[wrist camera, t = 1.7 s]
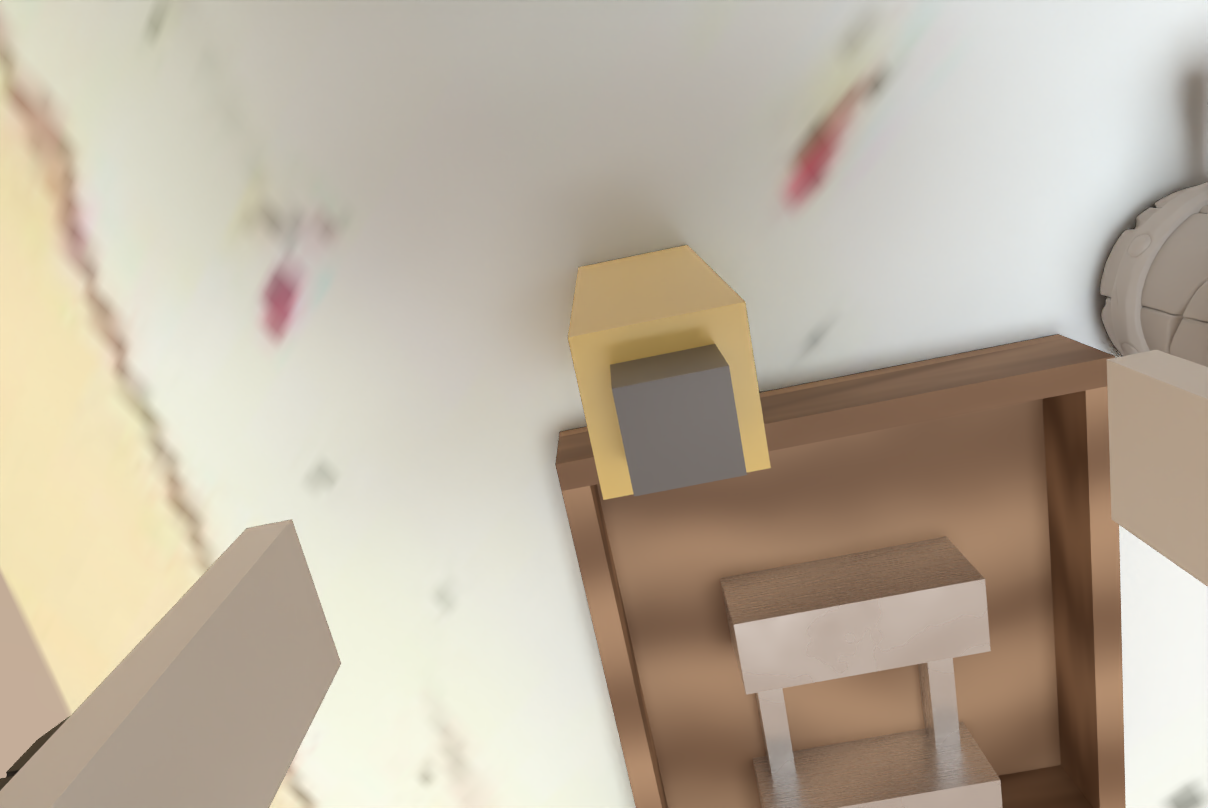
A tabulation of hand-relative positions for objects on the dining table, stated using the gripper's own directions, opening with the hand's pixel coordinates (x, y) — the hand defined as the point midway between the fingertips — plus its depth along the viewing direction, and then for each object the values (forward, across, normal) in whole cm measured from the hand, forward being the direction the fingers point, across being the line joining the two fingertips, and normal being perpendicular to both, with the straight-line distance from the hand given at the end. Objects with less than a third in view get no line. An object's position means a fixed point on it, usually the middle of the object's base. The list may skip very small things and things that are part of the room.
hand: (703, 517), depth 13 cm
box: (+18, +6, -14) cm, 23 cm away
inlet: (+18, +6, -17) cm, 25 cm away
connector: (+18, 0, 0) cm, 18 cm away
